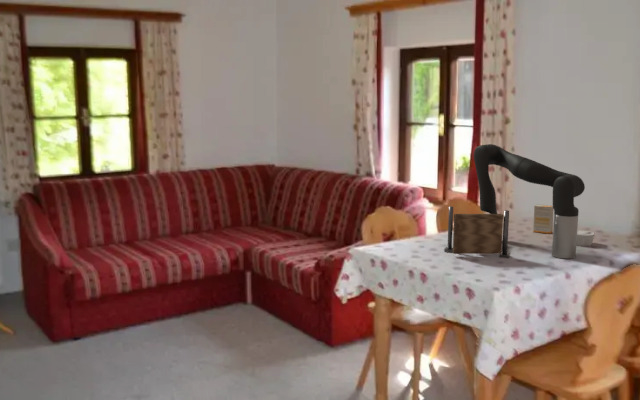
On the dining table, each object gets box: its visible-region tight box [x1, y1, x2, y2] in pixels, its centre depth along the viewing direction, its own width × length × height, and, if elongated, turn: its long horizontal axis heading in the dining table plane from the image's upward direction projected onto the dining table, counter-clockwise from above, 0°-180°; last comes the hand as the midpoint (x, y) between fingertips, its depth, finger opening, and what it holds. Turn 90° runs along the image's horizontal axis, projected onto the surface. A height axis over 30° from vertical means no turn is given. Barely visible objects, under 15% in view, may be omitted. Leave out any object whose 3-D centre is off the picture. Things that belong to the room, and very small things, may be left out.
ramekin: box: [576, 229, 596, 247], centre depth 294 cm, size 11×11×5 cm
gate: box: [452, 213, 504, 255], centre depth 269 cm, size 19×2×16 cm, turn 91°
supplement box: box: [532, 203, 554, 235], centre depth 318 cm, size 8×5×13 cm, turn 57°
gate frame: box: [443, 206, 511, 259], centre depth 274 cm, size 26×4×19 cm, turn 67°
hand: (475, 239), depth 270 cm, fingers closed
